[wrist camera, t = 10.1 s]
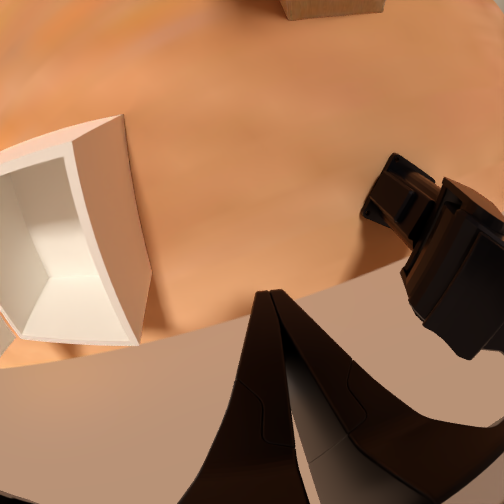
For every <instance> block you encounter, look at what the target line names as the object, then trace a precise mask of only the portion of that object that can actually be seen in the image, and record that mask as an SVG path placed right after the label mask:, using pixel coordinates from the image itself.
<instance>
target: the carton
mask: <svg viewBox="0 0 504 504" xmlns="http://www.w3.org/2000/svg"><path fill="white" fill-rule="evenodd" d="M151 277H152V270H151V266H150V262H149V258H148V254H147V250H146V246H145V242H144V237H143V233H142V229H141V224H140V219H139V214H138V210H137V205H136V199H135V194H134V188H133V183H132V177H131V171H130V164H129V157H128V150H127V142H126V134H125V125H124V115H123V114H121V115H116V116H111V117H107V118H102V119H98V120H93V121H89V122H85V123H81V124H77V125H74V126H70V127H67V128H63V129H60V130H56V131H53V132H50V133H47V134H44V135H41V136H38V137H35V138H32V139H30V140H27V141H24V142H22V143H19V144H16V145H14V146H11V147H9V148H7V149H4V150H3V151H1V152H0V311H1V312H2V314H3V315H4V317H5V318H6V320H7V321H8V322H9V324H10V325H11V326H12V328H13V329H14V331H15V332H16V333H17V334H18V336H19V337H20V338H21V339H26V340H34V341H44V342H54V343H67V344H83V345H107V346H140V341H141V334H142V327H143V321H144V315H145V309H146V303H147V298H148V292H149V287H150V282H151Z"/></svg>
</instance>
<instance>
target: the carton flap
mask: <svg viewBox="0 0 504 504" xmlns="http://www.w3.org/2000/svg"><path fill="white" fill-rule="evenodd" d="M15 338H16V336H15V335H14V334H13V332H12V331H11V330H10V328H9V327H8V326H7V324H6V323H5V321H4V320H3V319H2V317H1V316H0V357H1V356H2V354H3V353H4V352H5V350H6V349H7V348H8V347H9V345H10V344H11V343H12V342H13V340H14V339H15Z"/></svg>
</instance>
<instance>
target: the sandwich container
mask: <svg viewBox="0 0 504 504" xmlns="http://www.w3.org/2000/svg"><path fill="white" fill-rule="evenodd" d="M279 1H280V3H281V5H282V7H283V9H284V12H285V14H286V16H287V18H288V20H290V21H294V20H301V19H309V18H319V17H330V16H344V15H353V14H365V13H381V12H383V10H384V5H385V0H279Z"/></svg>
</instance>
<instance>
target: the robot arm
mask: <svg viewBox="0 0 504 504" xmlns="http://www.w3.org/2000/svg"><path fill="white" fill-rule="evenodd" d="M396 157H397V159H396V161H395V158H396ZM442 184H443V185H442V187H441V188H440V187H439V186H437V185H436V184H435V180H434V179H433V178H432V177H430V176H429V175H428V174H426V173H425V172H423V171H422V170H421V169H419V168H418V167H416V166H415V165H414V164H412V163H411V162H409V161H408V160H406V159H405V158H403V157H402V156H400V155H399V154H397V153H393V154H392V155H391V156H390V158H389V160H388V162H387V164H386V166H385V168H384V170H383V172H382V174H381V176H380V177H379V179H378V181H377V183H376V185H375V187H374V189H373V190H372V192H371V194H370V196H369V198H368V199H367V201H366V203H365V205H364V207H363V208H362V210H361V214H362V215H363V216H364V217H365V218H367V219H369V220H372V221H374V222H377V223H379V224H382V225H384V226H386V227H389V228H391V229H392V230H393V231H394V232H395V233H396V234H397V235H398V236H399V237H400V238H401V239H402V240H403V241H404V243H405V244H406V245H407V246H408V247H409V248H410V249H411V250H412V253H411V255H410V257H409V259H408V261H407V263H406V265H405V266H404V267H403V268H402V270H401V272H400V274H401V277H402V280H403V283H404V285H405V288H406V291H407V295H408V297H409V299H408V301H409V304H410V305H411V307H412V309H413V311H414V313H415V315H416V316H417V317H418V318H419V319H420V320H421V321H423V324H422V325H423V326H424V327H425V328H427V329H429V330H431V331H433V332H434V333H436V334H437V335H438V336H439V337H441V338H442V339H443V340H444V341H445V342H446V343H447V344H448V345H449V346H450V348H451V349H452V350H453V351H454V352H455V353H456V355H458V356H459V357H461V358H464V359H466V360H472V359H473V358H474V357H475V355H476V354H477V353H478V352H479V351H480V350H490V351H499V352H501V353H502V354H503V355H504V216H503V215H502V213H501V212H500V211H499V210H498V209H497V207H496V206H495V205H494V204H493V203H492V202H491V201H489V200H488V199H487V198H485V197H484V196H482V195H481V194H479V193H478V192H476V191H475V190H473V189H471V188H469V187H467V186H465V185H462V184H460V183H458V182H456V181H453V180H451V179H449V178H446V177H444V178H443V181H442ZM367 211H368V212H367ZM366 212H367V213H366ZM291 411H292V413H291ZM292 414H293V417H294V420H295V423H296V427H297V430H298V433H299V436H300V439H301V443H302V446H303V449H304V452H305V455H306V459H307V462H308V464H309V469H310V472H311V475H312V478H313V481H314V484H315V488H316V491H317V494H318V497H319V500H320V503H321V504H504V417H502V418H501V419H499V420H498V421H496V422H495V423H493V424H492V425H491V426H489V427H487V428H483V427H474V426H468V425H461V424H455V423H450V422H444V421H439V420H434V419H430V418H427V417H425V416H423V415H421V414H419V413H417V412H416V411H414V410H413V409H412V408H410V407H409V406H408V405H406V404H405V403H404V402H402V401H401V400H400V399H398V398H397V397H396V396H394V395H393V394H392V393H391V392H389V391H388V390H387V389H385V388H384V387H383V386H382V385H381V384H379V383H378V382H377V381H376V380H374V379H373V378H372V377H371V376H370V375H369V374H368V373H367V372H366V371H365V370H364V369H362V368H361V367H360V366H359V365H358V364H357V363H356V362H355V361H354V360H352V358H351V357H350V356H349V355H348V354H347V353H346V352H345V351H344V350H343V349H342V348H341V347H340V346H339V345H338V344H337V343H336V342H335V341H334V340H333V339H332V338H331V337H330V336H329V335H328V334H327V333H326V332H325V331H324V330H323V329H322V328H321V327H320V326H319V325H318V324H317V323H316V322H315V321H314V320H313V319H312V318H311V317H310V316H309V315H308V314H307V313H306V312H305V311H304V310H302V308H301V307H300V306H299V305H297V303H296V302H295V301H294V300H293V299H292V298H291V297H290V296H289V295H288V294H287V293H286V292H285V291H284V290H282V289H276V290H270V291H267V290H266V291H257V292H256V293H255V298H254V302H253V306H252V310H251V315H250V319H249V323H248V328H247V332H246V337H245V340H244V344H243V349H242V353H241V357H240V361H239V365H238V369H237V374H236V378H235V381H234V385H233V389H232V393H231V397H230V400H229V404H228V407H227V410H226V412H225V415H224V418H223V420H222V423H221V425H220V427H219V430H218V432H217V435H216V437H215V439H214V441H213V443H212V446H211V448H210V450H209V452H208V455H207V457H206V459H205V461H204V463H203V465H202V467H201V469H200V471H199V473H198V474H197V476H196V478H195V479H194V481H193V483H192V484H191V485H190V487H189V488H188V489H187V491H186V492H185V494H184V495H183V496H182V498H181V499H180V501H179V502H178V503H177V504H310V503H309V499H308V496H307V493H306V490H305V487H304V484H303V480H302V477H301V474H300V471H299V467H298V462H297V456H296V449H295V439H294V430H293V422H292ZM0 504H38V503H35V502H33V501H30V500H27V499H24V498H21V497H17V496H14V495H11V494H8V493H6V492H3V491H0Z"/></svg>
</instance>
